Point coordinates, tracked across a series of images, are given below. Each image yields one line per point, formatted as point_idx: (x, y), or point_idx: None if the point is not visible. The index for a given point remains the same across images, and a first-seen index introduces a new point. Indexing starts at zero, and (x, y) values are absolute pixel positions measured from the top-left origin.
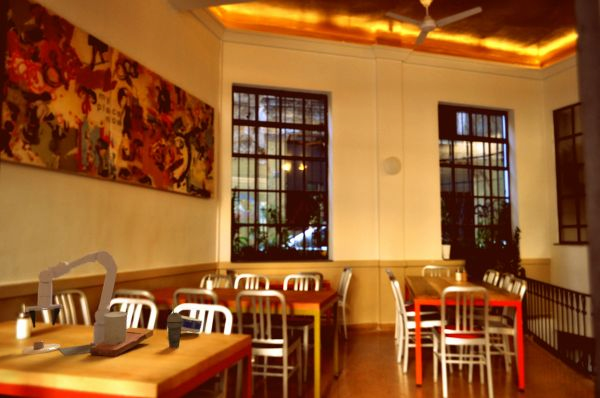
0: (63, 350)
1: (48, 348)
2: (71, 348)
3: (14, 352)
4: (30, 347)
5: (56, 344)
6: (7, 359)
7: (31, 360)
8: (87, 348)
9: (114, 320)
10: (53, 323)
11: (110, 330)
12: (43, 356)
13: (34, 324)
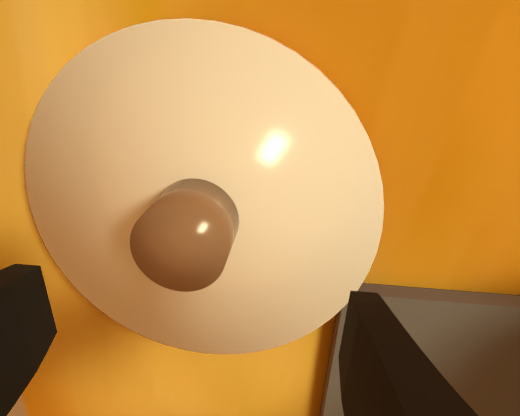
0: None
1: (264, 291)
2: (421, 346)
3: (9, 99)
4: (131, 86)
5: (362, 189)
6: None
7: (148, 393)
8: (504, 408)
9: None
10: (348, 403)
11: None
12: (218, 356)
13: (7, 390)
